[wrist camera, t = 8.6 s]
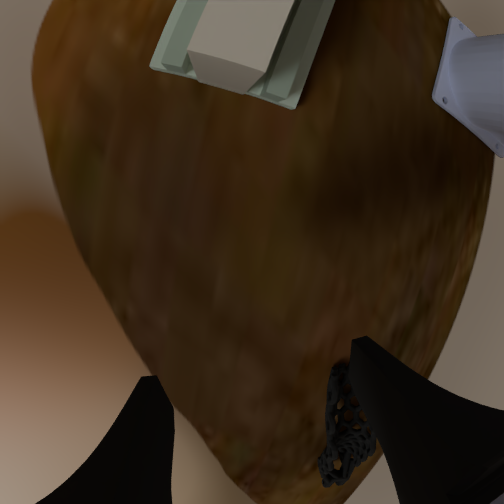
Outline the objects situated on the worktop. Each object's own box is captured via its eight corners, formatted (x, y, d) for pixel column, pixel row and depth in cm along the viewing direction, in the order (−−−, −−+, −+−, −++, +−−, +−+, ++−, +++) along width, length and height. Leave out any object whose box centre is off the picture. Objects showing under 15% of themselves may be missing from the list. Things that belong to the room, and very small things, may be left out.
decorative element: (314, 365, 24) (334, 419, 19) (369, 350, 24) (397, 399, 19) (313, 467, 33) (322, 501, 28) (347, 458, 34) (359, 490, 28)
